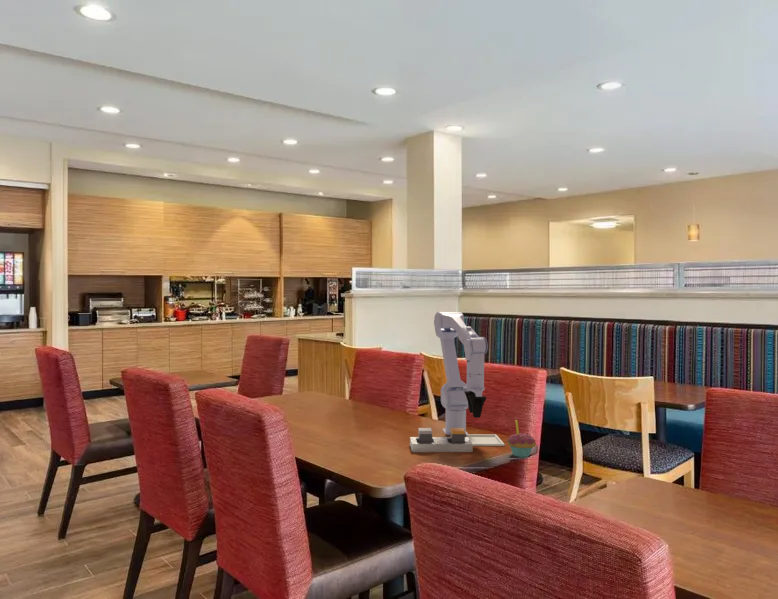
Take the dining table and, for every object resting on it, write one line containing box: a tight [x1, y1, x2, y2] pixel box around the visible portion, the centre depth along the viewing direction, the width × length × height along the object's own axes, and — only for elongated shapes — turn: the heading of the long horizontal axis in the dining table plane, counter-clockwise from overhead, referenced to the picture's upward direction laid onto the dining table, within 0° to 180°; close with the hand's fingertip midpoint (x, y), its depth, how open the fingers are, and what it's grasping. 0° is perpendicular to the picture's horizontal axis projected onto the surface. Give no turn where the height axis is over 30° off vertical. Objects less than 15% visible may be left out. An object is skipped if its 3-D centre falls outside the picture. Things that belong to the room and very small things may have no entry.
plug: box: [449, 428, 466, 443], centre depth 195 cm, size 4×4×6 cm
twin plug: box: [417, 427, 433, 443], centre depth 195 cm, size 4×4×6 cm
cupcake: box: [506, 417, 537, 460], centre depth 188 cm, size 9×8×12 cm
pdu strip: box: [409, 436, 474, 453], centre depth 195 cm, size 9×19×3 cm, turn 92°
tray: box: [465, 433, 505, 447], centre depth 205 cm, size 13×10×1 cm
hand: (474, 414), depth 202 cm, fingers open, 7 cm apart
